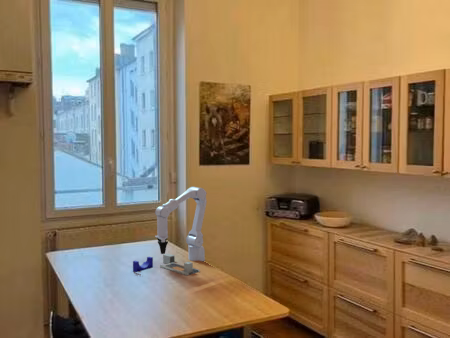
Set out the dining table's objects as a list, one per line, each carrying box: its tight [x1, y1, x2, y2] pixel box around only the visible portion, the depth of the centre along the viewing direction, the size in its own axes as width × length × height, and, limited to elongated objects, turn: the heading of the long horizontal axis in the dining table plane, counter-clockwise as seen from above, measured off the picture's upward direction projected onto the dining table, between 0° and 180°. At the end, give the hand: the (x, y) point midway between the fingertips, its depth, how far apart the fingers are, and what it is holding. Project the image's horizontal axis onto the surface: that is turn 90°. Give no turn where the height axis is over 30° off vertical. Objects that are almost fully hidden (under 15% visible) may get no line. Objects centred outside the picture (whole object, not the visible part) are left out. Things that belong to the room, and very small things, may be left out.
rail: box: [159, 262, 201, 277], centre depth 255 cm, size 10×22×2 cm, turn 48°
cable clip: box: [132, 256, 154, 273], centre depth 259 cm, size 12×4×6 cm, turn 143°
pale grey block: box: [162, 253, 176, 265], centre depth 271 cm, size 4×6×5 cm, turn 48°
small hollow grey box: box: [183, 261, 194, 273], centre depth 250 cm, size 4×3×5 cm
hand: (162, 251), depth 261 cm, fingers open, 7 cm apart
